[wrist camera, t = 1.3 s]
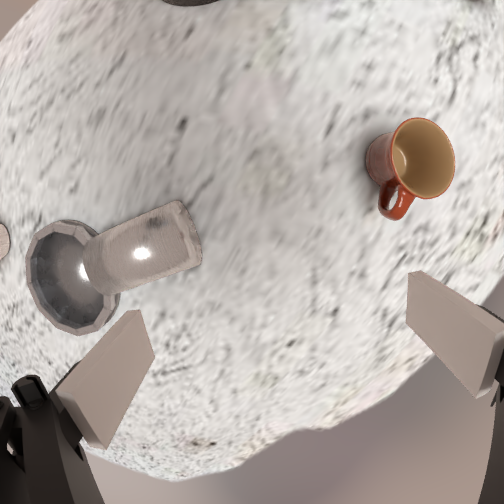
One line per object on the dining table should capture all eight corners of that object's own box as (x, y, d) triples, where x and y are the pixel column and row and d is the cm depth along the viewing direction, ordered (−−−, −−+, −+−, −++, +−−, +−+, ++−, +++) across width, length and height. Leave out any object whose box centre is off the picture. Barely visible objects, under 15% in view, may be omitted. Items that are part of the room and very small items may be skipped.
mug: (371, 119, 34) (406, 101, 24) (420, 152, 34) (463, 146, 24) (337, 197, 36) (365, 201, 26) (389, 226, 37) (428, 240, 27)
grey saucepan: (62, 337, 42) (38, 358, 34) (22, 243, 38) (-9, 254, 30) (219, 289, 39) (211, 314, 31) (171, 163, 35) (150, 158, 28)
